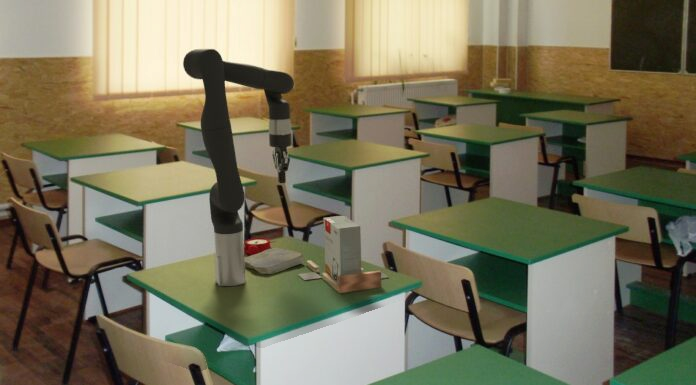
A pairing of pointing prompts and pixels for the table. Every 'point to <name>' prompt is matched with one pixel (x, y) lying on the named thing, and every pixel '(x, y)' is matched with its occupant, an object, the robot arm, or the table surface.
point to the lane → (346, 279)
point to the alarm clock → (256, 245)
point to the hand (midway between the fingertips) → (281, 182)
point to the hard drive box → (341, 246)
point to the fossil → (273, 260)
